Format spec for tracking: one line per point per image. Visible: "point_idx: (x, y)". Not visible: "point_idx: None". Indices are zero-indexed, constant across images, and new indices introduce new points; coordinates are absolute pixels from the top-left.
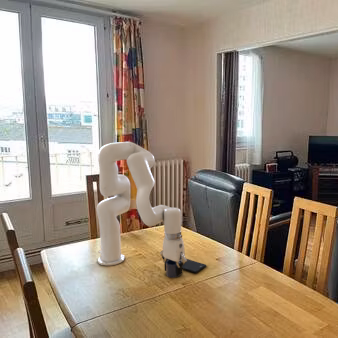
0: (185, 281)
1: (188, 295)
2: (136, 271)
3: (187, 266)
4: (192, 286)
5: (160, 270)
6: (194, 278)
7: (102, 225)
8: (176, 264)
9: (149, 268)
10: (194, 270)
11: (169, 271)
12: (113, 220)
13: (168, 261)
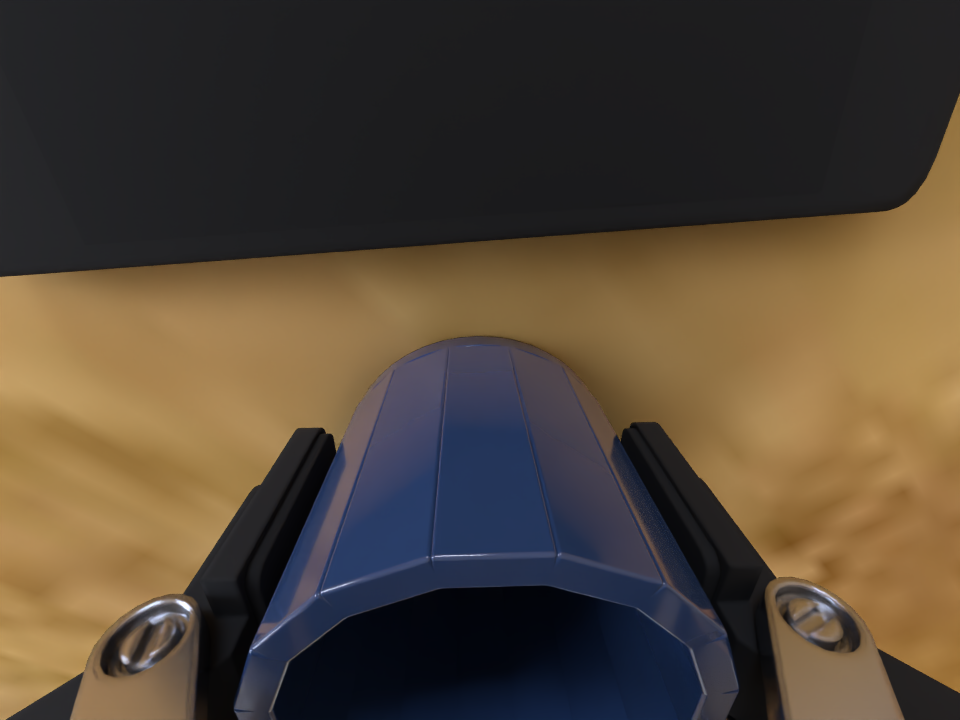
0: (784, 490)
1: (943, 643)
2: (18, 656)
3: (568, 89)
4: (936, 521)
5: (201, 483)
6: (896, 351)
7: None
8: None
9: (13, 534)
10: (864, 168)
11: (511, 632)
12: None
13: (300, 708)
